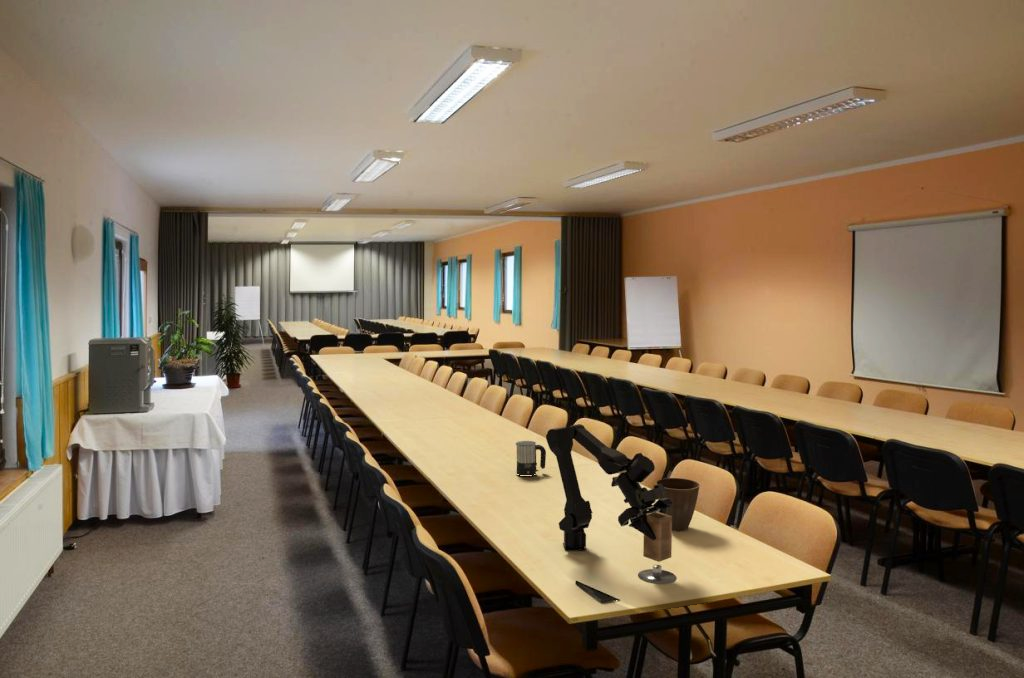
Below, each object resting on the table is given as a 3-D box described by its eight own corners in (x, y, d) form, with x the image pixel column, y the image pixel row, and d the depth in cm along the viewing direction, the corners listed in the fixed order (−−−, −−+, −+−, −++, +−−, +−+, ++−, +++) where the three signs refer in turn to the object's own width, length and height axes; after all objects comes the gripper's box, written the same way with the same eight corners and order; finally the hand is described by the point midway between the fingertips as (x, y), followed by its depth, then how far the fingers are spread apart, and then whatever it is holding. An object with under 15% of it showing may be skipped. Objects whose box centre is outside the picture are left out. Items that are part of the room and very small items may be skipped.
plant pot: (697, 537, 242) (698, 490, 241) (653, 532, 246) (653, 487, 245) (699, 523, 256) (700, 479, 255) (657, 519, 261) (657, 476, 260)
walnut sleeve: (643, 556, 206) (644, 515, 205) (655, 551, 209) (656, 511, 209) (658, 561, 201) (659, 520, 201) (671, 557, 205) (672, 516, 204)
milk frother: (522, 478, 319) (522, 445, 318) (504, 470, 333) (505, 439, 332) (549, 474, 326) (549, 442, 325) (531, 467, 340) (531, 436, 339)
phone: (597, 576, 207) (626, 596, 193) (597, 580, 207) (626, 600, 193) (573, 580, 203) (601, 601, 190) (573, 584, 203) (601, 605, 190)
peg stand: (629, 578, 207) (629, 565, 206) (654, 569, 214) (654, 556, 213) (660, 590, 198) (660, 576, 198) (684, 580, 205) (684, 567, 205)
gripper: (626, 481, 201) (656, 529, 193) (668, 470, 213) (698, 516, 205) (605, 502, 208) (633, 550, 200) (647, 491, 219) (675, 535, 212)
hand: (661, 537), depth 204 cm, fingers closed on walnut sleeve, 6 cm apart
